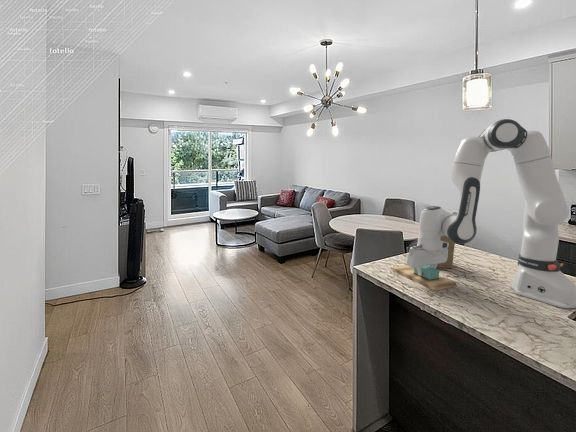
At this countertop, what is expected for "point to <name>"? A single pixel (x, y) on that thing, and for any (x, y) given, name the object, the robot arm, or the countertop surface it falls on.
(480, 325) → the countertop surface
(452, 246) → the wooden block
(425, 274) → the block
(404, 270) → the oak board
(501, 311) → the countertop surface
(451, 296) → the countertop surface
